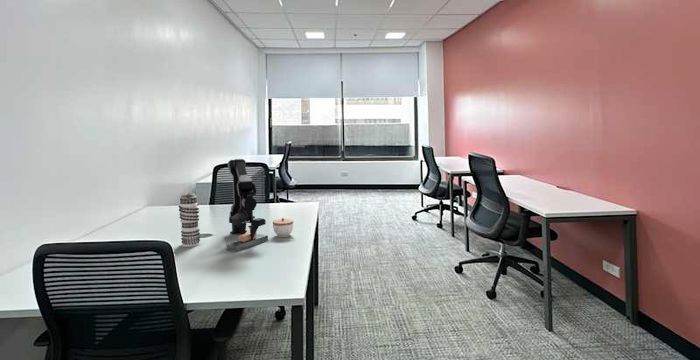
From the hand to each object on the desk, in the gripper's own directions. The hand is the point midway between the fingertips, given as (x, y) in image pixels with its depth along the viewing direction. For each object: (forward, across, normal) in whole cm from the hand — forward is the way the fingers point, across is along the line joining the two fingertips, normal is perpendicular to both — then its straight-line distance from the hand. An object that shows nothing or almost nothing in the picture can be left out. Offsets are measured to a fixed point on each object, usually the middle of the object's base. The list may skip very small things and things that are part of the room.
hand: (247, 238), depth 205 cm
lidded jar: (+4, +4, +22) cm, 23 cm away
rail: (+3, 0, 0) cm, 3 cm away
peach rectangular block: (+3, 0, 0) cm, 3 cm away
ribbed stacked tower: (+4, -26, -12) cm, 29 cm away
